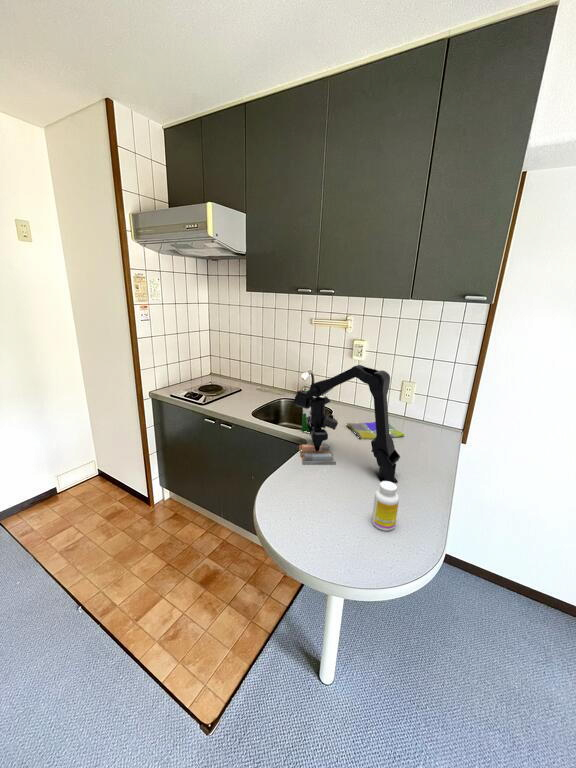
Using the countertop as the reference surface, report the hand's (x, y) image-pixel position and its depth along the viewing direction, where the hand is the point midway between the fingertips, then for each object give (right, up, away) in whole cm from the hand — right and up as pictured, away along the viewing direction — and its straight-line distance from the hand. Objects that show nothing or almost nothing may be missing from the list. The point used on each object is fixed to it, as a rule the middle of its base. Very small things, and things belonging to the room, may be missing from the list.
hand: (315, 446), depth 133 cm
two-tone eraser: (0, -2, +1) cm, 2 cm away
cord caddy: (0, -4, -3) cm, 5 cm away
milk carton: (0, +3, +22) cm, 22 cm away
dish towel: (+32, +2, +25) cm, 40 cm away
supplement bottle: (+16, -15, -40) cm, 46 cm away
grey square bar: (0, -4, -7) cm, 8 cm away
